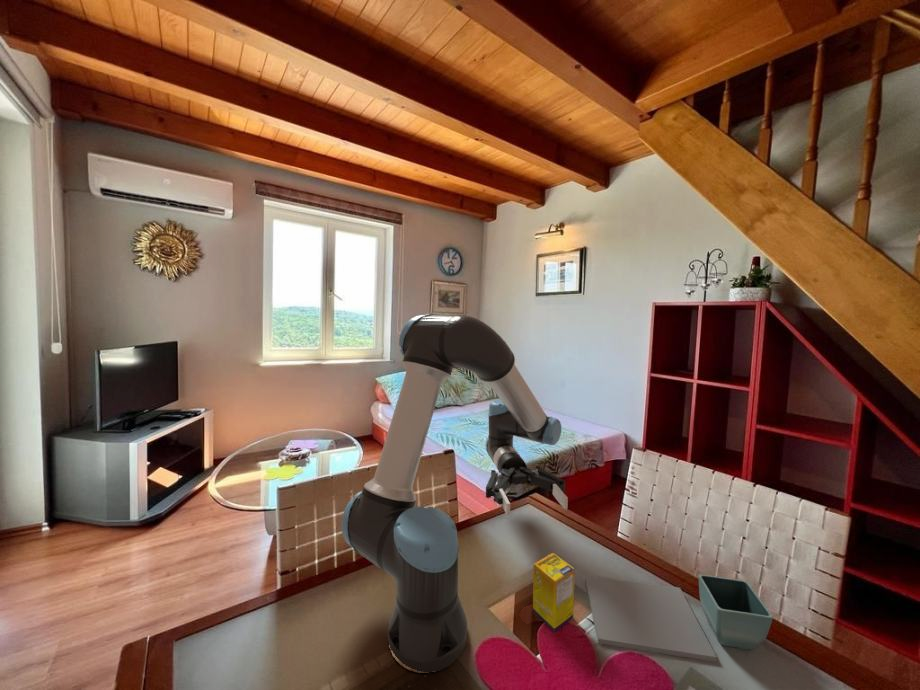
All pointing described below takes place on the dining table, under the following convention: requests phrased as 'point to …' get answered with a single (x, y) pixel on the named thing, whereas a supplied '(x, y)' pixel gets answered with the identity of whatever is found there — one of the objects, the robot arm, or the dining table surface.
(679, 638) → the board
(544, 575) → the supplement box
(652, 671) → the dining table surface
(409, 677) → the dining table surface
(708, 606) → the flower pot
